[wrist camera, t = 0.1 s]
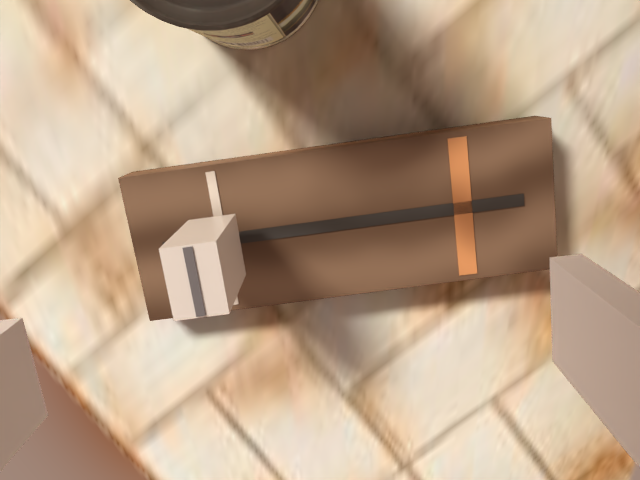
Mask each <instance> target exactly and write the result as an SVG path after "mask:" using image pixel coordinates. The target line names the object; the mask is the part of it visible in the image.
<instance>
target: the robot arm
mask: <svg viewBox="0 0 640 480" xmlns="http://www.w3.org/2000/svg"><path fill="white" fill-rule="evenodd" d="M549 258H550V291H551V324H552V357H553V362H554V364H555V365H556V366H557V367H558V368H559V370H560V371H561V372H562V373H563V375H564V376H565V377H566V378H567V379H568V381H569V382H570V383H571V384H572V386H573V387H574V388H575V389H576V391H577V392H578V393H579V394H580V395H581V397H582V398H583V399H584V400H585V402H586V403H587V404H588V405H589V406H590V408H591V409H592V410H593V411H594V413H595V414H596V415H597V416H598V417H599V419H600V420H601V421H602V422H603V424H604V425H605V426H606V427H607V429H608V430H609V431H610V432H611V433H612V435H613V436H614V437H615V438H616V440H617V441H618V442H619V443H620V444H621V446H622V447H623V448H624V449H625V451H626V452H627V453H628V454H629V456H630V457H631V458H632V459H633V460H634V462H635V463H636V464H637V465H638V467H639V468H640V292H638V291H637V290H635V289H634V288H632V287H631V286H629V285H628V284H626V283H625V282H623V281H622V280H620V279H619V278H617V277H616V276H614V275H613V274H611V273H610V272H608V271H607V270H605V269H604V268H602V267H601V266H599V265H598V264H596V263H595V262H593V261H592V260H590V259H589V258H587V257H586V256H584V255H583V254H575V255H566V256H557V257H549ZM47 416H48V413H47V409H46V405H45V401H44V398H43V394H42V390H41V386H40V383H39V379H38V375H37V371H36V367H35V364H34V360H33V356H32V352H31V349H30V345H29V341H28V337H27V334H26V330H25V326H24V322H23V318H16V319H8V320H0V472H1V471H2V470H3V468H4V467H5V466H6V465H7V463H8V462H9V461H10V460H11V459H12V458H13V457H14V455H15V454H16V453H17V452H18V451H19V449H20V448H21V447H22V446H23V445H24V444H25V442H26V441H27V440H28V439H29V437H30V436H31V435H32V434H33V433H34V432H35V430H36V429H37V428H38V427H39V426H40V425H41V423H42V422H43V421H44V420H45V419H46V417H47Z"/></svg>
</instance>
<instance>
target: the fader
mask: <svg viewBox="0 0 640 480" xmlns="http://www.w3.org/2000/svg"><path fill="white" fill-rule="evenodd" d="M159 253H160V258H161V263H162V267H163V272H164V277H165V282H166V286H167V291H168V296H169V301H170V305H171V310H172V315H173V319H174V321H178V320H186V319H194V318H202V317H209V316H217V315H225V314H230V312H231V309H232V307H233V304H234V302H235V300H236V297H237V295H238V292H239V290H240V288H241V285H242V283H243V281H244V278H245V276H246V271H245V265H244V260H243V254H242V248H241V242H240V237H239V231H238V225H237V220H236V214H229V215H222V216H215V217H207V218H200V219H193V220H188V221H187V222H186V223H185V224H184V225H183V226H182V227H181V228H180V229H179V230H178V231H177V232H175V233H174V234H173V235H172V236H171V237H170V238H169V239H168V240H167V241H166V242H165V243H164V244H163V245H162V246H161V247H160V248H159Z"/></svg>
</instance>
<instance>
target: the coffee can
mask: <svg viewBox="0 0 640 480" xmlns="http://www.w3.org/2000/svg"><path fill="white" fill-rule="evenodd" d="M130 1H131V2H133V3H134V4H135V5H136V6H138V7H139V8H140V9H142V10H143V11H145V12H147V13H148V14H150V15H152V16H154V17H156V18H158V19H160V20H162V21H164V22H167V23H170V24H173V25H176V26H179V27H183V28H187V29H189V30H192V31H194V32H196V33H198V34H201V35H203V36H205V37H207V38H208V39H210V40H212V41H214V42H216V43H218V44H220V45H223V46H226V47H230V48H235V49H245V50H252V49H260V48H265V47H269V46H272V45H275V44H277V43H279V42H281V41H284V40H286V39H287V38H288V37H290V36H291V35H292V34H293V33H295V32H296V31H297V30H298V29H299V28H300V27H301V26H302V25H303V24H304V23H305V22H306V20H307V19H308V18H309V16H310V15H311V13H312V12H313V10H314V8H315V6H316V4H317V2H318V0H130Z"/></svg>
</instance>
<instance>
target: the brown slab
mask: <svg viewBox="0 0 640 480" xmlns="http://www.w3.org/2000/svg"><path fill="white" fill-rule="evenodd" d="M118 179H119V183H120V188H121V192H122V197H123V202H124V206H125V211H126V215H127V220H128V224H129V229H130V233H131V238H132V242H133V247H134V251H135V256H136V260H137V265H138V269H139V274H140V278H141V283H142V287H143V292H144V296H145V301H146V305H147V310H148V314H149V319H150V321H153V320H160V319H168V318H173V315H172V310H171V305H170V301H169V296H168V291H167V286H166V282H165V277H164V272H163V267H162V263H161V258H160V253H159V248H160V247H161V246H162V245H163V244H164V243H165V242H166V241H167V240H168V239H169V238H170V237H171V236H172V235H173V234H174V233H175V232H177V231H178V230H179V229H180V228H181V227H182V226H183V225H184V224H185V223H186V222H187V221H188V220H193V219H200V218H207V217H215V216H222V215H229V214H236V220H237V225H238V231H239V237H240V242H241V248H242V254H243V260H244V265H245V271H246V276H245V278H244V281H243V283H242V285H241V288H240V290H239V292H238V295H237V297H236V300H235V302H234V304H233V307H232V309H231V310H238V309H245V308H253V307H261V306H269V305H276V304H284V303H292V302H299V301H307V300H315V299H323V298H330V297H338V296H346V295H354V294H361V293H369V292H377V291H384V290H392V289H400V288H408V287H415V286H423V285H431V284H439V283H446V282H454V281H462V280H469V279H477V278H485V277H493V276H500V275H508V274H516V273H524V272H531V271H539V270H547V269H550V258H549V257H557V241H556V219H555V196H554V173H553V151H552V128H551V118H547V117H539V116H531V117H524V118H516V119H509V120H502V121H495V122H488V123H480V124H473V125H466V126H459V127H452V128H445V129H437V130H430V131H423V132H416V133H409V134H402V135H394V136H387V137H380V138H373V139H366V140H358V141H351V142H344V143H337V144H330V145H323V146H315V147H308V148H301V149H294V150H287V151H279V152H272V153H265V154H258V155H251V156H244V157H236V158H229V159H222V160H215V161H208V162H200V163H193V164H186V165H179V166H172V167H165V168H157V169H150V170H143V171H136V172H131V173H129V174H127V175H124V176H122V177H120V178H118Z"/></svg>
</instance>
